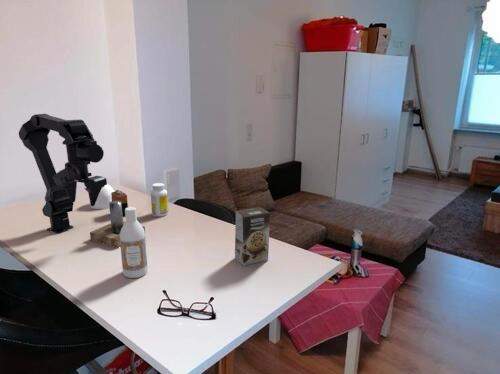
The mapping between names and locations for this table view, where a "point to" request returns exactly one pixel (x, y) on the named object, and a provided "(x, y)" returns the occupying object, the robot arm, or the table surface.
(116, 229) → the grey metal cylinder
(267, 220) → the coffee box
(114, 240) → the holder block
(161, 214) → the supplement bottle
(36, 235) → the table surface
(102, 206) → the teardrop
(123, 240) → the bath foam
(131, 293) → the table surface
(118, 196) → the battery
